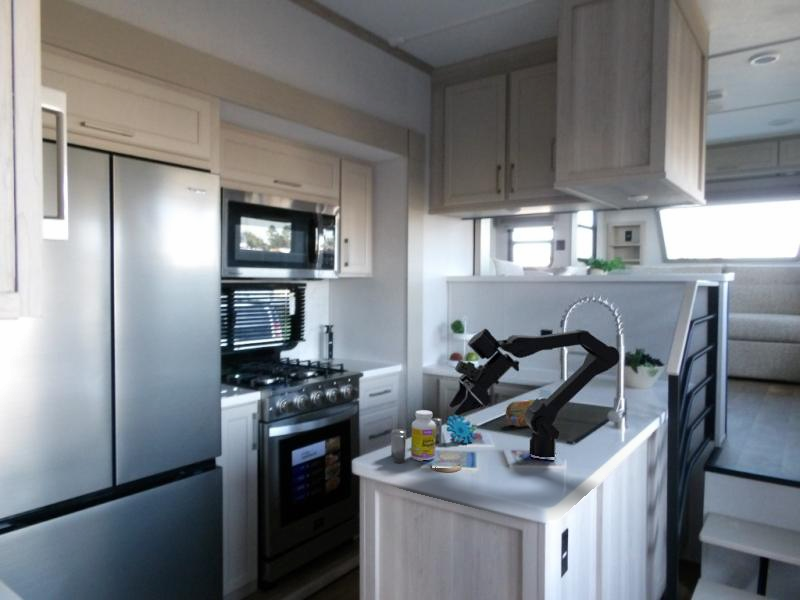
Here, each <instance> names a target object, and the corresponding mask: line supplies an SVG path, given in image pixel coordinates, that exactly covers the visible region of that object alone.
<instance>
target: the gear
mask: <svg viewBox="0 0 800 600" xmlns="http://www.w3.org/2000/svg"><path fill="white" fill-rule="evenodd" d="M458 418H459V419H458ZM465 418H466V417H464V416H463V415H461V416H460V417H459V415H458V416H457V415H456V414H454V415H451V416H448V419H447V421H446V422H445V424H446V426H447V427H446V432H449V433H450V432H452V433H450V437H452V438H454V439H455V438H456V442H457V443H458V444H460V443H461V442H462V440H463V442H462V443H467V444H468V443H469V442H471V443H472V442H474V438H475V437H476V434H475V433H474V432H475V431H476V430H477V426H476V425H474V426H470V425H471V422H470V420H467V421H465ZM464 421H465V422H464ZM452 438H451V439H452Z"/></svg>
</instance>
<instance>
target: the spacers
mask: <svg viewBox="0 0 800 600" xmlns="http://www.w3.org/2000/svg"><path fill="white" fill-rule="evenodd" d="M431 419H432V421H434V423H435V425H436V432H435V445H436V444H441V443H442V436H443V435H442V434H443V432H442V429H443V428H442V425H443V424H442V423H443V420H442V418H440V417H434V418H433V417H432V418H431ZM390 432H391V438H390V439H391V444H390V445H391V447H390V457H392V458H393V463H395V464H404V463H405V461H406V447H407V446H406V444H407V443H406V439H407V437H406V435H407V433H406V432H407V431H406V430H405V429H401V428H397V429H391V431H390Z"/></svg>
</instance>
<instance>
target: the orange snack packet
mask: <svg viewBox="0 0 800 600" xmlns="http://www.w3.org/2000/svg"><path fill="white" fill-rule="evenodd" d="M535 400H536V399H525V400H516V401H512V402H510V403H509V404H508V405H507V407H506V408H505V409H506V410H505V419H506V421H507V422H508V423H509V425H512V426H514V427H517V428H519V427H526V426H528V425H527V424H526V422H525V419H524V416H525V415H524V414H525V412H526V411H527V410H528V409H527V407H528V406H530V405H531V404H532V403H533V402H534V401H535Z"/></svg>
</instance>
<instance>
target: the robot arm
mask: <svg viewBox="0 0 800 600" xmlns="http://www.w3.org/2000/svg"><path fill="white" fill-rule="evenodd" d="M467 346H468V347H469V348H470V349H471V350H473V352H475V354H476V355H477V356H478V357H479V358H480V359H481V360H484V359H486V360H487V362H485V363H484V364H483V365H482V364H479V365H478V366H477V367H476V364H475V363H473V362H471V361H468V362H466V361H464V360H462V359H458V362H457V364H456V366H455V368H454V370H455V371H456V372H457V373H458V374H461V376H459V378H458V379H459V380H458V381H457V382H458V389H457V391H456V393H455V394H454V395H453V398H452V399H451V401H450V402H449V404H448V406H449V407H450V408H454V407H457V408H456V409H455V411H454V413H453V414H454V415H457V416H458V417H459V416H460V415H462V414H463V415H464V414H465V413H468V412H471V411H474V410H478V409H480V408H484V406H485V407H487V406H488V405H490V403H491V402H492V396H491V395H490V394H489V393H490V392H489V390H490V389H491V388H492V387H493V386H494V385H498V384H499V383H500V381H499V380H501V378H502V377H503V376H504V375H505V374H506V373H508V371H509V370H510V369H513V370H514V371H516V372H519V371H520V366H519V364H520V361H519V360H514V359H513V358H512V357H511V356H513V357H515V358H518V359H522V358H523V359H524V358H526V357H529V356H533V355H535V354H536V353H539V352H542V351H545V350H546V351H547V350H553V349H560V348H567V347H573V346H580V347H581V348H582V349H583V350H584V351H586V352H587V354H586V356H585V359H584V360H583V363H582V364H581V366H579V368H578V369H577V370H576V371H575V372H573V374H571V375H570V376H569V377H568V378H567V379H566V380H565V381H564V382H563V383H562V384H561V385H560V386H558V387H557V388H556V389H555V390H554V392H553V393H551V394H550V395H549V396H548V397H547V398H546V399H543V400H540V399H539V398H536V399H534V400H535V401H534V402H533V403H532V404H531V405H530V406H528V407H527V409H528V410H527V411H526V412H525V414H524V415H525V416H524V419H525V422H526V424H527V426H528V427H529V428H530V431H531V432H533V433H532V435H531V438H530V439H529V455H531V454H532V455H535V456H539V457H555V454H556V455H557V452H556V450H557V449H556V447H557V446H556V443H557V439H558V437H559V435H560V431H559V430H558V429H557V427H555V426H554V423H555V422H556V419H557V417H558V416H559V415H558V414H559V412H560V411H561V410H562V409H563V408H564V407H565V406H566V405H567V404H568V403H569V402H570V401H571V400H572V399H573V398H574V397H575V396H576V395H578V394H579V392H580V391H582V390H583V389H584V388H585V386H587V384H589V383H590V382H591V381H592V380H593V379H594V378H595V377H597V376H598V375H600V374H603V373H606V372H607V371H609V370H611V369H612V368H613V367H615V366H616V365H617V364H618V363H619V362H620V352H619V350H618V349H617V348H616V347H614V346H612V345H608V344H606V343H605V342H604V341H601V340H600V339H599V338H597V337H595V336H594V335H593V334H591V332H589V331H588V330H586V329H585V330H584V329H581V328H580V329H578V328H577V329H576V330H571V331H566V332H565V331H563V332H555V333H550V334H544V335H526V334H525V335H523V334H513V335H510V336H508V338H507V339H501V340H500V339H499V340H497V339H496V338H495V336H493V334H491V332H490V331H489V330H488V329H487V328H483V329H482V330H481V331H479V332H478V333H476V334H474V335H473V336H472V337H471V338H470V339H469V340H468V342H467ZM499 349H501V350H502V351H504V352H506V353H504V354H503V352H502V351H501V350H499ZM458 405H459V406H458ZM555 458H556V457H555Z"/></svg>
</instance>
